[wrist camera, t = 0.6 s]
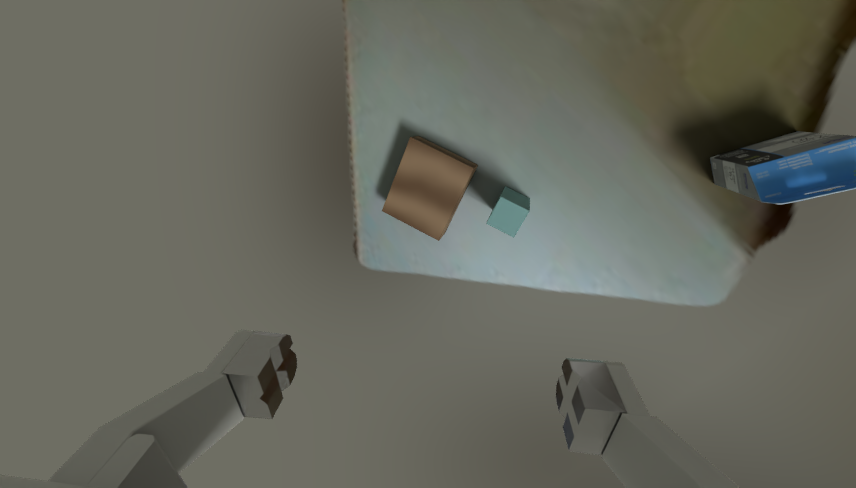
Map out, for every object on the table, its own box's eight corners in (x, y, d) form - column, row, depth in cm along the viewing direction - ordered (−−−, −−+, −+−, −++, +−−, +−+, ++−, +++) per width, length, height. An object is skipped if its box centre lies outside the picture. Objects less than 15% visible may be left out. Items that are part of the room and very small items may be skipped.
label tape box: (799, 130, 40) (904, 132, 28) (803, 164, 40) (906, 179, 29) (708, 156, 43) (770, 167, 32) (713, 187, 44) (776, 209, 32)
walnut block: (418, 136, 52) (410, 136, 48) (477, 165, 51) (473, 168, 47) (391, 205, 57) (381, 210, 53) (444, 233, 56) (438, 240, 52)
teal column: (505, 186, 51) (500, 196, 43) (529, 198, 50) (529, 211, 43) (492, 209, 52) (486, 223, 45) (516, 221, 52) (513, 237, 45)
